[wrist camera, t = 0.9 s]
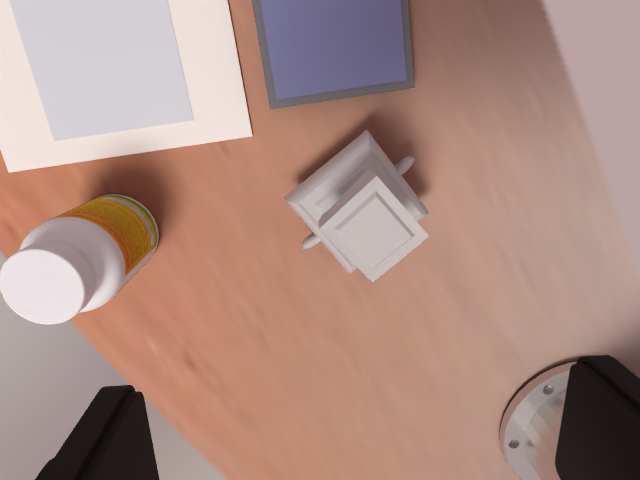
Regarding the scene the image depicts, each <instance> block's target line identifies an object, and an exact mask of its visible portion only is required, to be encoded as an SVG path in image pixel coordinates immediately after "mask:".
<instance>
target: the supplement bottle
mask: <svg viewBox="0 0 640 480" xmlns="http://www.w3.org/2000/svg"><path fill="white" fill-rule="evenodd" d="M158 239H159V234H158V228H157V224H156V221H155V219H154V217H153V216H152V214H151V213H150V211H149V210H148V209H147V208H146V207H145V206H144V205H142V204H141V203H140V202H138V201H136V200H135V199H132V198H130V197H127V196H124V195H116V194H111V195H104V196H100V197H98V198H95V199H93V200H90V201H89V202H87V203H85V204H82V205H80V206H78V207H76V208H74V209H72V210H70V211H68V212H66V213H63V214H61V215H59V216H57V217H55V218H52V219H50V220H48V221H46V222H44V223H42V224H40V225H39V226H37V227H36V228H34V229H33V230H32V231H31V232H30V233H29V234H28V235H27V236H26V237H25V239H24V240H23V242H22V244H21V247H20V249H19V251H18V252H16V253H15V254H13V255H12V256H11V257H9V258H8V259H7V260H6V262H5V263H4V265H3V267H2V269H1V271H0V290H1V292H2V295H3V298H4V299H5V301H6V303H7V304H8V305H9V306H10V308H11V309H12V310H13V311H15V312H16V313H17V314H18V315H20V316H22V317H23V318H25V319H27V320H30V321H32V322H35V323H39V324H58V323H62V322H65V321H67V320H69V319H71V318H72V317H74V316H75V315H76V314H77V313H78V312H86V311H90V310H93V309H96V308H98V307H100V306H102V305H104V304H105V303H107V302H108V301H109V300H110V299H112V298H113V297H114V296H115V295H116V294H117V293H118V292H119V291H120V290H121V289H122V287H123V286H124V285H125V284H126V283H127V282H128V281H129V280H130V279H131V278H132V277H133V276H134V275H135V274H136V273H137V272H138V271H139V270H140V269H141V268H142V267H143V266H144V265H145V264H146V263H147V262H148V261H149V260H150V258H151V257H152V256H153V254H154V252H155V251H156V248H157V245H158Z"/></svg>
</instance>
